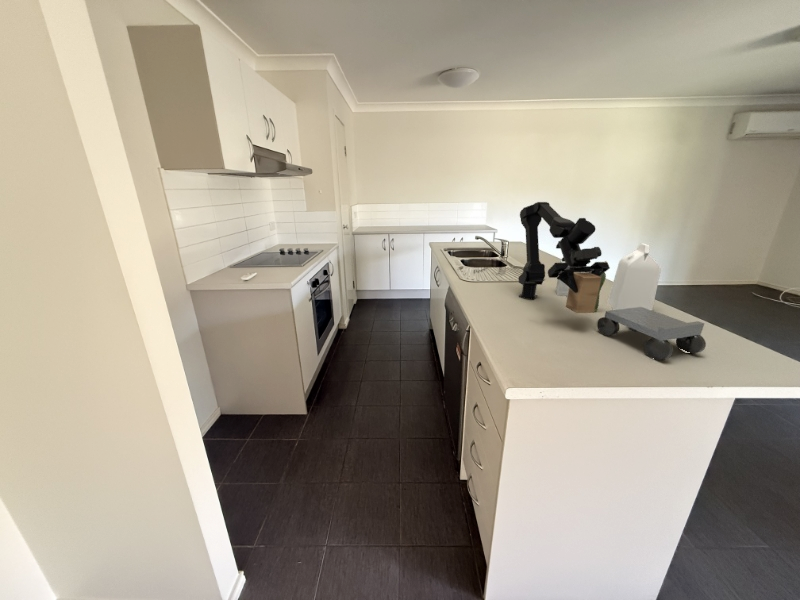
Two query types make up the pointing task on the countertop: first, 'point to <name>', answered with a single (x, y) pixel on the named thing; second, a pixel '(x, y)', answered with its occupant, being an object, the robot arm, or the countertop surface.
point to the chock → (584, 293)
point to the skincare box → (562, 286)
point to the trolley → (655, 330)
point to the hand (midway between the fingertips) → (586, 292)
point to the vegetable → (599, 290)
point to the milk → (635, 280)
